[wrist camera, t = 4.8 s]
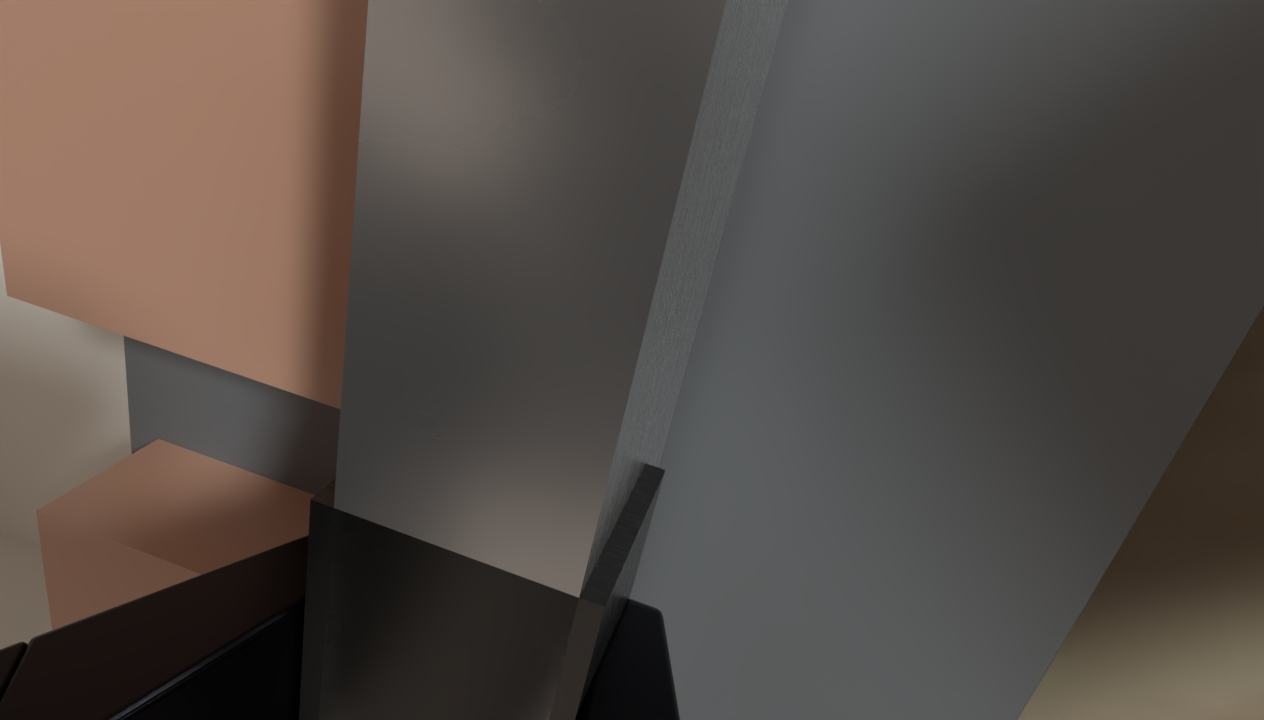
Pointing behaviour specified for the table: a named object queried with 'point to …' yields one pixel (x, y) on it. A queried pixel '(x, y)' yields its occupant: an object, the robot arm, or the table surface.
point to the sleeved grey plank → (516, 339)
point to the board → (913, 348)
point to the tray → (49, 439)
